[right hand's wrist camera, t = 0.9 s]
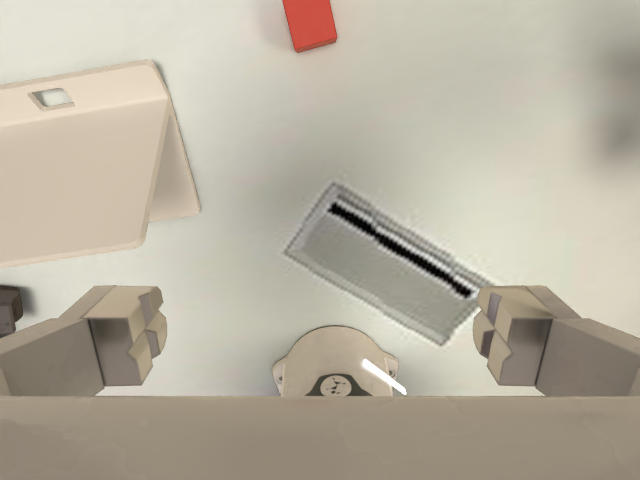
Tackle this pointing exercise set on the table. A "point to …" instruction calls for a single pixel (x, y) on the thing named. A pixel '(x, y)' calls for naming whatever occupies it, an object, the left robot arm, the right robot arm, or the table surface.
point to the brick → (310, 23)
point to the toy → (9, 309)
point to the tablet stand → (89, 164)
